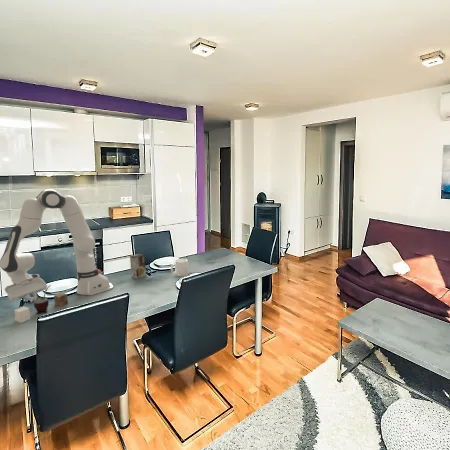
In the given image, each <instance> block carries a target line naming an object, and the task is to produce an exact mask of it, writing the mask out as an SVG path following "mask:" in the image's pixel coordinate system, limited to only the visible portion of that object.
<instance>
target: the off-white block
mask: <svg viewBox="0 0 450 450" xmlns="http://www.w3.org/2000/svg"><path fill="white" fill-rule="evenodd" d="M14 317H15V321H16V322H18V323H24V322H26V321H28V320H31V311H30V307H27V306H22V307H19V308H15V309H14Z"/></svg>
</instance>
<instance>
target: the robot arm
mask: <svg viewBox="0 0 450 450" xmlns="http://www.w3.org/2000/svg"><path fill="white" fill-rule="evenodd" d="M46 209H59V210H60V212H61V214H62V217H63V219H64V221H65V224H66V227H67V228H68V231H69V232H70V235H71V237H72V245H73V249H74V256H75V261H76V264H75V265H76V279H77V285H76V286H77V288H76V294H78V295H86V296H87V295H88V296H93V295H97V294H100V293H103V292H106V291H109V290H112V289H114V285H113V283H112V282H110V281H109V278H108V277H107V276H105V275H103V274H101V273H102V270H101V269H98V268H97V267H96V259H95V254H94V253H95V252H94V249H95V247H96V239H95V237H94V236H93V233H92V231H91V229H90V227H89V225H88V222H87V220H86V218H85V216H84V214H83V210H82V208H81V206H80V204H79V203H78V200H77V199H76V198H75V196H72V195H62V194H61V193H60V192H58V191H57V190H55V189H53V188H52V189H49V188H48V189H44V190H42V191H41V192H40V193H39V194H38V195H37V196H36V197H35V198H27V199H25V200H24V202H23V203H22V206H21V210H20V215H19V219H18V221H17V223H16V225H14V227H12V229H11V230H10V233H9V236H8V240H7V243H6V246H5V249H4V252H3V253H2V255H1V258H0V269H1V270H2V271H3V272H6V274H7V276H8V277H9V278H10V279H11V283H12V284H10V285H7V286H5V288H4V291H5V292H4V293H6V294H7V297H8V299H9V301H10V302H14V301H18V300H20V299H22V298H25V299H27V300H29V301H30V303H32V302H34V301H35V299H36V298H37V293H40V292H44V291H45V290H46V288H47V287H48V284H47V283H46V282H45V280H44V279H43V278H41V277H40V274H38V273H31V274H30V273H28V271H30V270H31V269H33V267H34V266H35V265H36V262H37V261H36V257H35V254H33V253H32V252H21V253H18V249H19V246H20V243H21V241H22V240H23V239H24V238H25V237H27V236H29V235H30V234H31V235H32V234H34V233H36V232H37V231H39V229H40V228H41V225H42V221H43V214H44V211H45V210H46ZM32 296H33V297H32Z"/></svg>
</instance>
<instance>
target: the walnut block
mask: <svg viewBox="0 0 450 450" xmlns="http://www.w3.org/2000/svg"><path fill="white" fill-rule="evenodd" d="M53 299H54V306H57V307H62V306H65V305H67V304H69V301H68V294H67V293H64V292H60V293H59V292H58V293H57V294H53Z"/></svg>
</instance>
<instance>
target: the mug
mask: <svg viewBox="0 0 450 450" xmlns="http://www.w3.org/2000/svg"><path fill="white" fill-rule="evenodd" d="M189 265H190V264H189V259H188V258H176V259H175V260H174V263H171V266H170V271H171V273H172V274H173V275H174V274H175V277H186V276H188V275H190V270H189Z"/></svg>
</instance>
